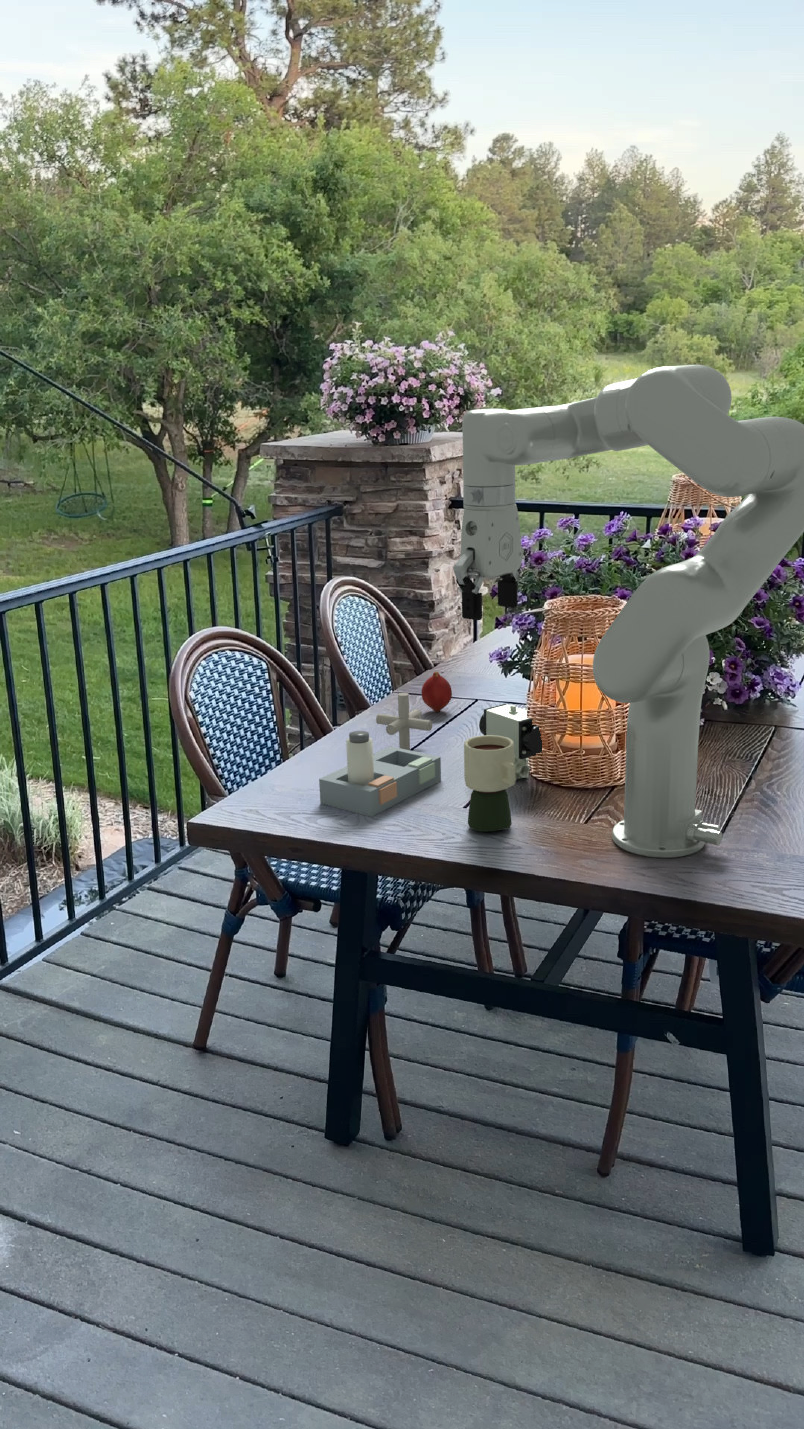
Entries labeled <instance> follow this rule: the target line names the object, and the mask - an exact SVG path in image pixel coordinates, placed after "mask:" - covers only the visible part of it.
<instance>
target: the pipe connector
mask: <svg viewBox="0 0 804 1429" xmlns="http://www.w3.org/2000/svg"><path fill="white" fill-rule="evenodd" d="M409 695H410V694H409V693H408V692H399V693H398V694H397V704H398V707H397V708H398V709H397V711H398V715H391V714H385V713H378V714H377V715H376V719H375V722H376V724H377V725H382V726H386V727H385V732H386V733H387V735H390V736H393V735H395V734H397V733H398V741H399V742H398V743H399V745H398V748H401V749H406V750H410V751H411V743H410V741H411V739H410V738H411V736H410V735H411V734H410V729H411V730H419V731H426V732H431V730H432V729H433V721H432V720H431V719H421V718H422V716H423V713H422V711H421V709H419V708H415V709H413V710H411V711H410V698H409Z"/></svg>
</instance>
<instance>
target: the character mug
mask: <svg viewBox="0 0 804 1429" xmlns="http://www.w3.org/2000/svg"><path fill="white" fill-rule="evenodd" d="M463 748H464V749H463V761H464V762H463V764H464V765H463V766H464V768H463V769H464V772H463V773H464V776H463V777H464V782H465V787H467V788H468V789H469V790H472V791H471V794H470V799H469V805H468V813H467V814H468V815H467V817H468V818H467V824H468V827H469V828H470V829H472V830H474V831H475V832H485V833H486V832H498V831H502V830H505V829H509V828H511V826H512V825H513V823H512V813H511V807H510V800H509V794H508V792H507V790H506V789H508V788H511V786H513V787H514V785H516V781H515V765H514V763H515V755H514V742H513V740H511V739H510V738H507V737H503V736H495V735H478V736H477V735H476V736H472V737H471V738H470V737H469V738H468V739H466V740H465V741H464V742H463Z"/></svg>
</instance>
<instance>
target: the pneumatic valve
mask: <svg viewBox="0 0 804 1429" xmlns="http://www.w3.org/2000/svg"><path fill="white" fill-rule="evenodd" d="M527 711H528V710H527V709H526V708H525V707H524V708H519V707H517V705H514V704H508V703H502V704H498V705H496V706H491V707H488V708H484V709H483V713H482V715H481V717H480V719H479V722H478V726H479V727H478V729H479V731H480V733H481V734H482V736H484V735H495V736H503V737H507V738H510V739H511V740H513V742H514V755H515V763H514V765H515V782H516V781H517V780H519V779H523V778H524V779H526V778H528V777H529V773H530V767H529V764H528V763H529V759H528V758H531V757H534V756H537V755H536V753H540V752H541V751H542V740H541V737H540V736H541V734H540V731H539V726H536V725H532V719H530V718H527Z"/></svg>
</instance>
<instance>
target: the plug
mask: <svg viewBox="0 0 804 1429" xmlns="http://www.w3.org/2000/svg"><path fill="white" fill-rule="evenodd" d="M373 740H374V739H373V738H372V737H370V732H369V731H365V730H355V731H352V732H349V734H348V738H346V740H345V742H346V743H345V744H346V745H345V747H346V748H345V749H346V763H347V764H346V766H347V770H348V783H352V784H356V785H360V786H366V785H368V783H369V782H372V781H374V763H373V754H374V744H373V743H374V742H373Z"/></svg>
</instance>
